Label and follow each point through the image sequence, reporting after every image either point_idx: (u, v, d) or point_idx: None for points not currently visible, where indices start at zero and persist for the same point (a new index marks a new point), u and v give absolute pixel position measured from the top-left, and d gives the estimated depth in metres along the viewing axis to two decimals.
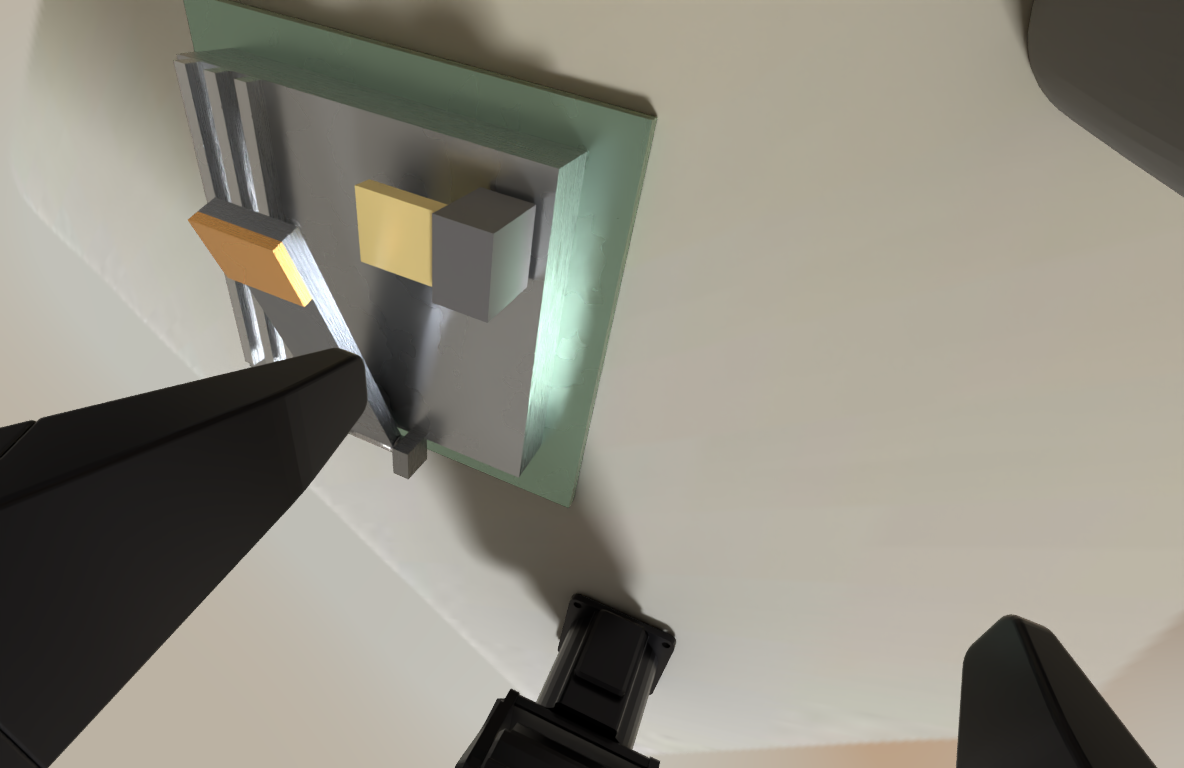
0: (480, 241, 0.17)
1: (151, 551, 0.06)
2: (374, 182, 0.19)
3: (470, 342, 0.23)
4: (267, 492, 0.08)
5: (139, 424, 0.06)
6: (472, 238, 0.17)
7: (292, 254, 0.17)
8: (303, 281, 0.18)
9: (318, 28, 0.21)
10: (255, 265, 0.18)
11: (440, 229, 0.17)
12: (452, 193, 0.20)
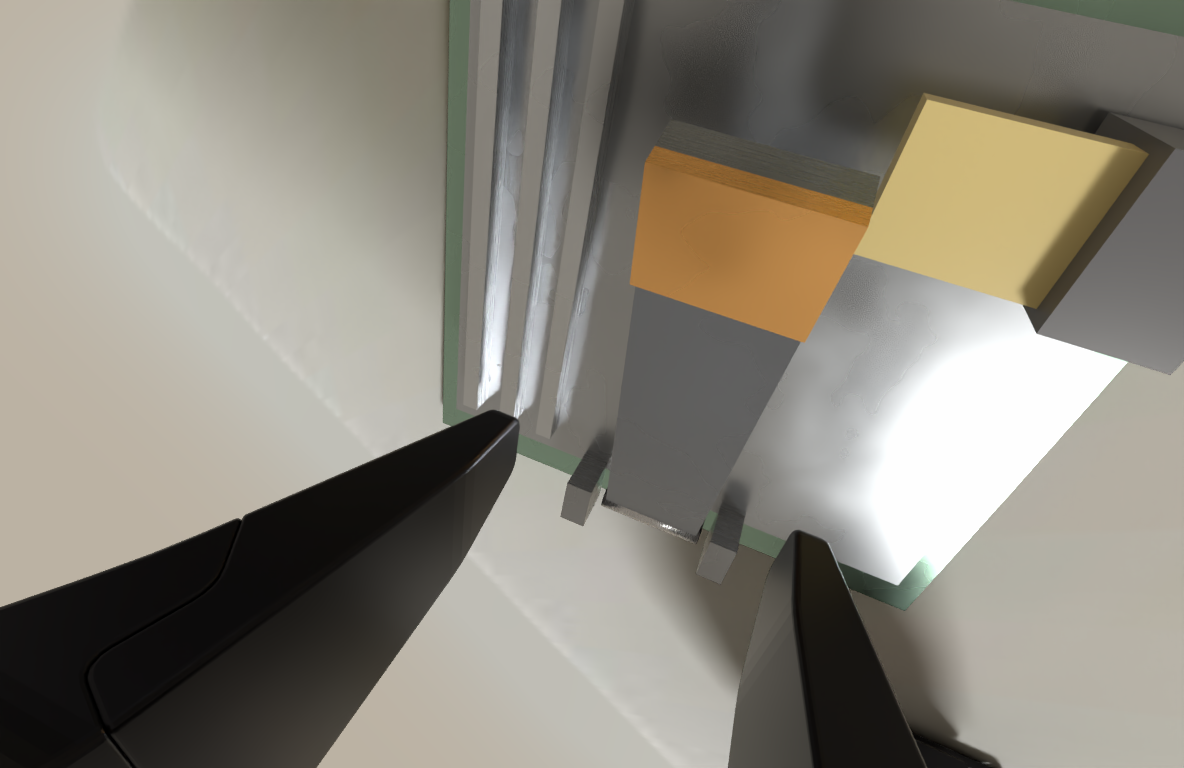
0: None
1: (345, 650, 0.06)
2: (940, 97, 0.09)
3: (908, 388, 0.14)
4: (436, 570, 0.07)
5: (343, 518, 0.06)
6: None
7: None
8: None
9: None
10: (755, 260, 0.09)
11: (1174, 184, 0.08)
12: None
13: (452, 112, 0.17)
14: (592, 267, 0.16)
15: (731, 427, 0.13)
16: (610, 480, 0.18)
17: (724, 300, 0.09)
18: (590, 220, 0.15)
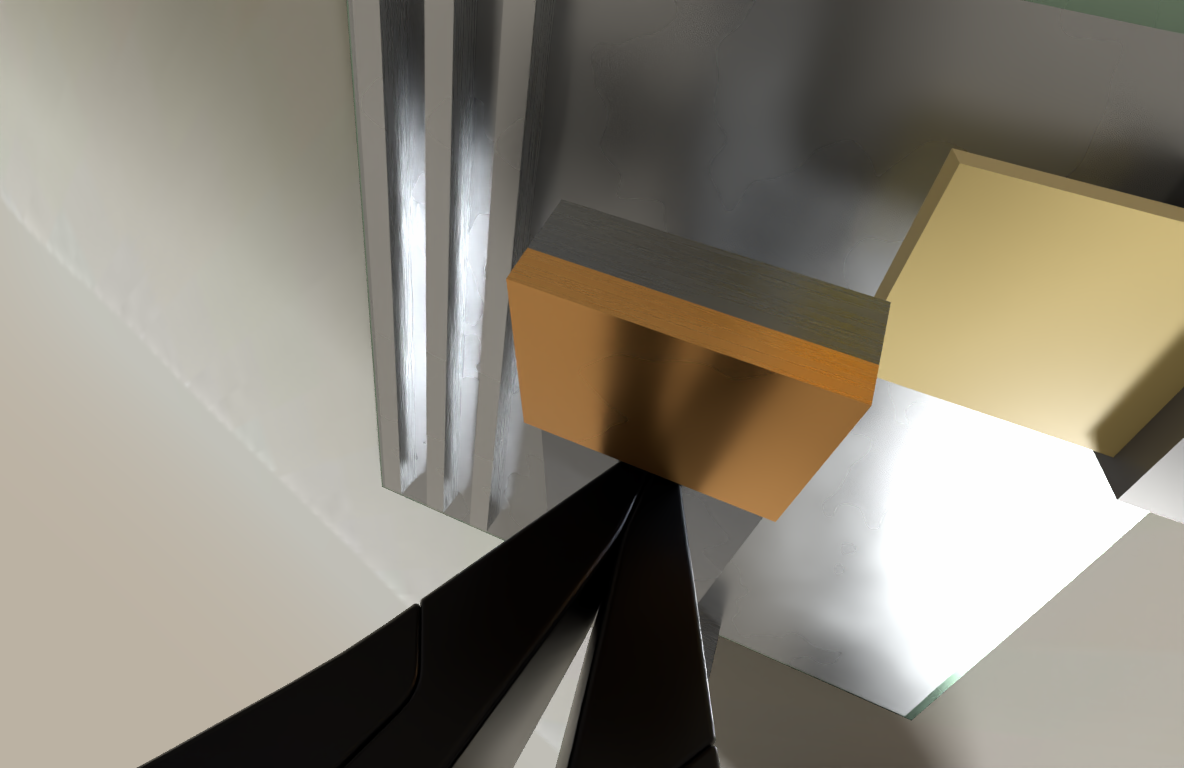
0: None
1: (512, 735, 0.06)
2: (978, 156, 0.06)
3: (920, 503, 0.11)
4: (579, 636, 0.07)
5: (520, 599, 0.05)
6: None
7: None
8: None
9: None
10: (693, 421, 0.05)
11: None
12: None
13: None
14: None
15: None
16: None
17: (655, 459, 0.06)
18: None
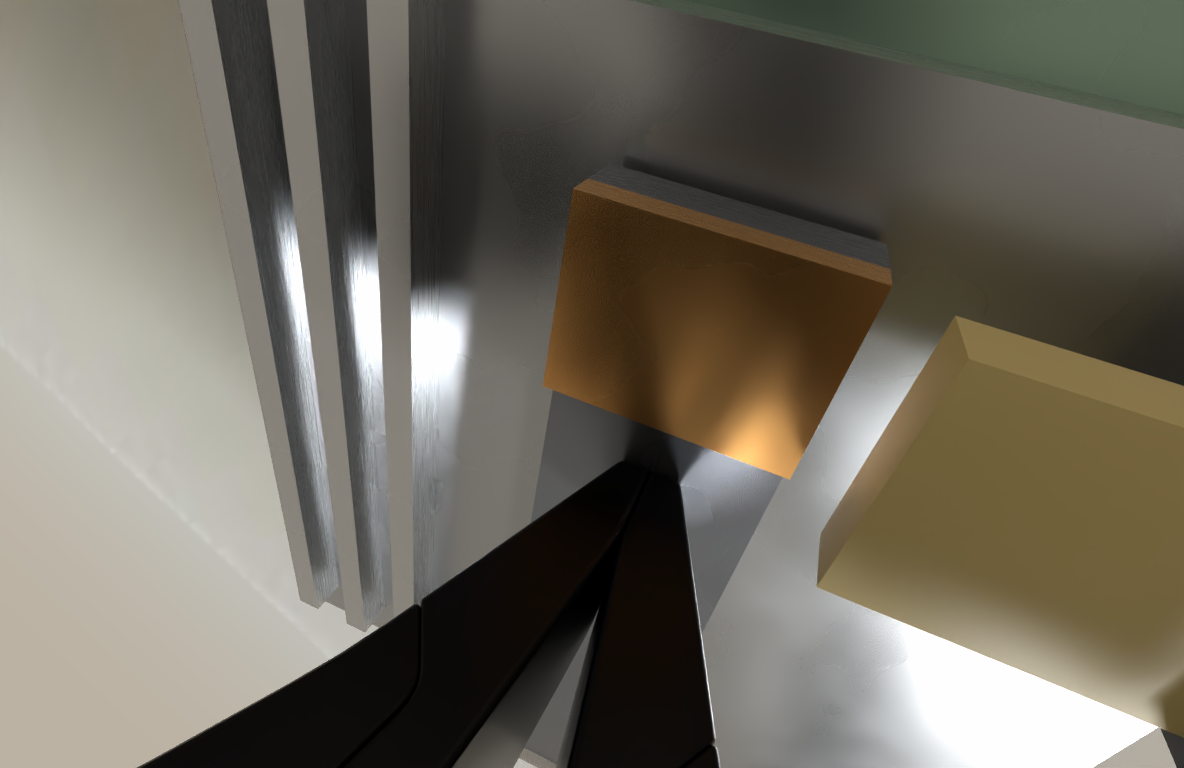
0: None
1: (512, 735, 0.06)
2: (993, 331, 0.04)
3: (916, 672, 0.09)
4: (579, 636, 0.07)
5: (520, 599, 0.05)
6: None
7: None
8: None
9: None
10: (724, 344, 0.06)
11: None
12: (1106, 337, 0.06)
13: None
14: (443, 455, 0.10)
15: None
16: None
17: (676, 410, 0.07)
18: (423, 402, 0.09)
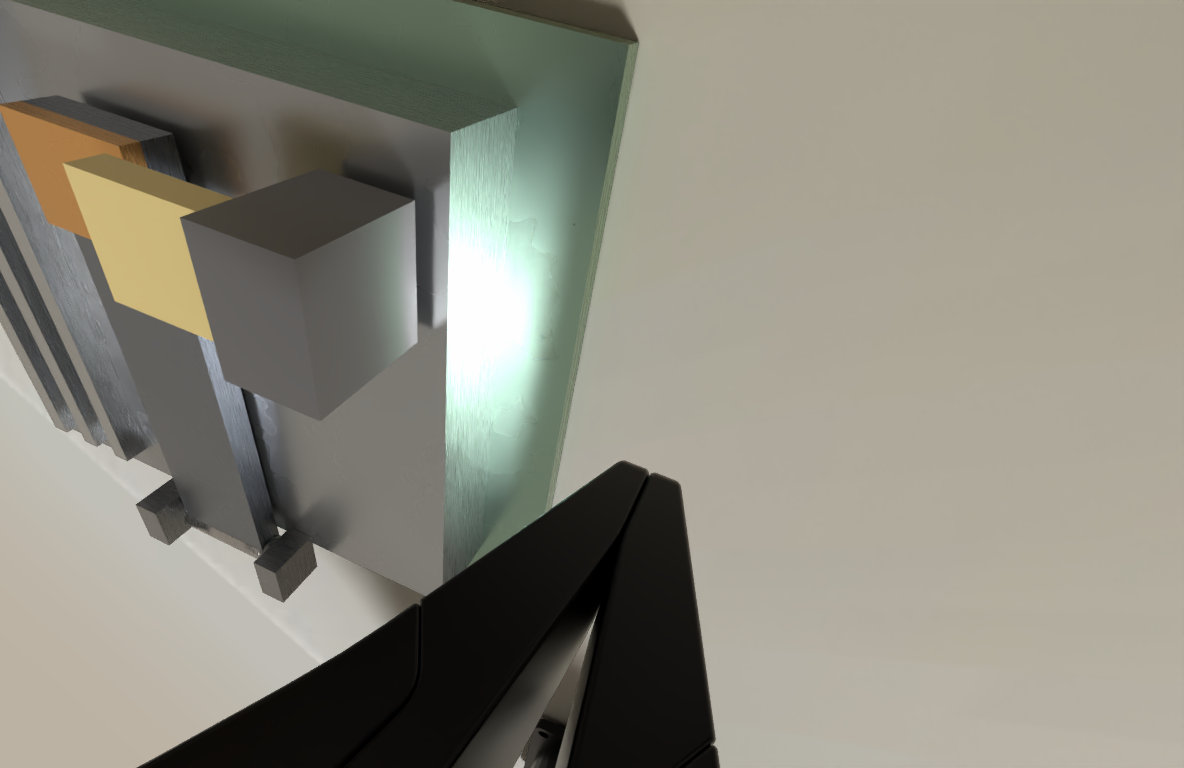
0: (275, 274, 0.08)
1: (512, 735, 0.06)
2: (112, 158, 0.10)
3: (349, 418, 0.15)
4: (578, 636, 0.07)
5: (520, 599, 0.05)
6: (260, 268, 0.08)
7: None
8: None
9: None
10: None
11: (202, 249, 0.09)
12: None
13: None
14: (90, 299, 0.16)
15: (201, 387, 0.15)
16: (176, 485, 0.18)
17: None
18: (51, 256, 0.15)
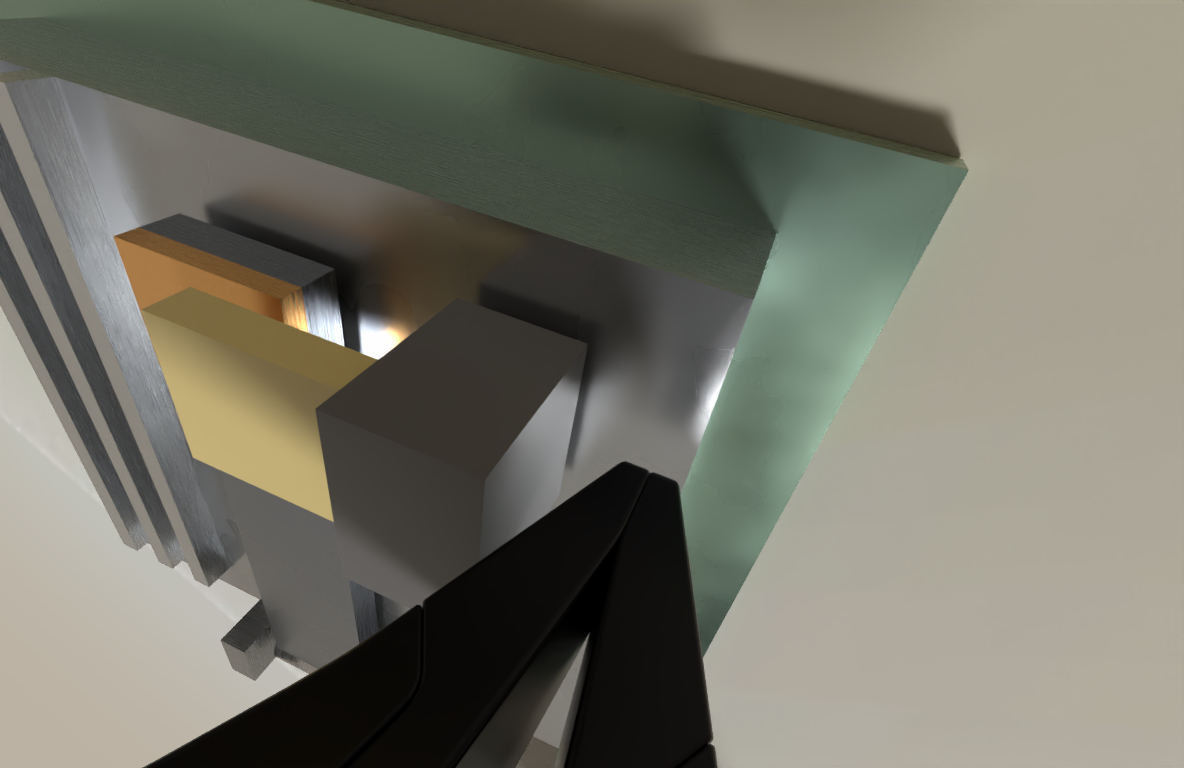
0: (448, 488, 0.06)
1: (514, 736, 0.06)
2: (199, 296, 0.08)
3: None
4: (580, 637, 0.07)
5: (522, 600, 0.05)
6: (427, 480, 0.06)
7: (312, 318, 0.09)
8: None
9: None
10: None
11: (341, 446, 0.06)
12: None
13: None
14: None
15: (326, 540, 0.12)
16: (270, 620, 0.16)
17: None
18: (143, 380, 0.13)
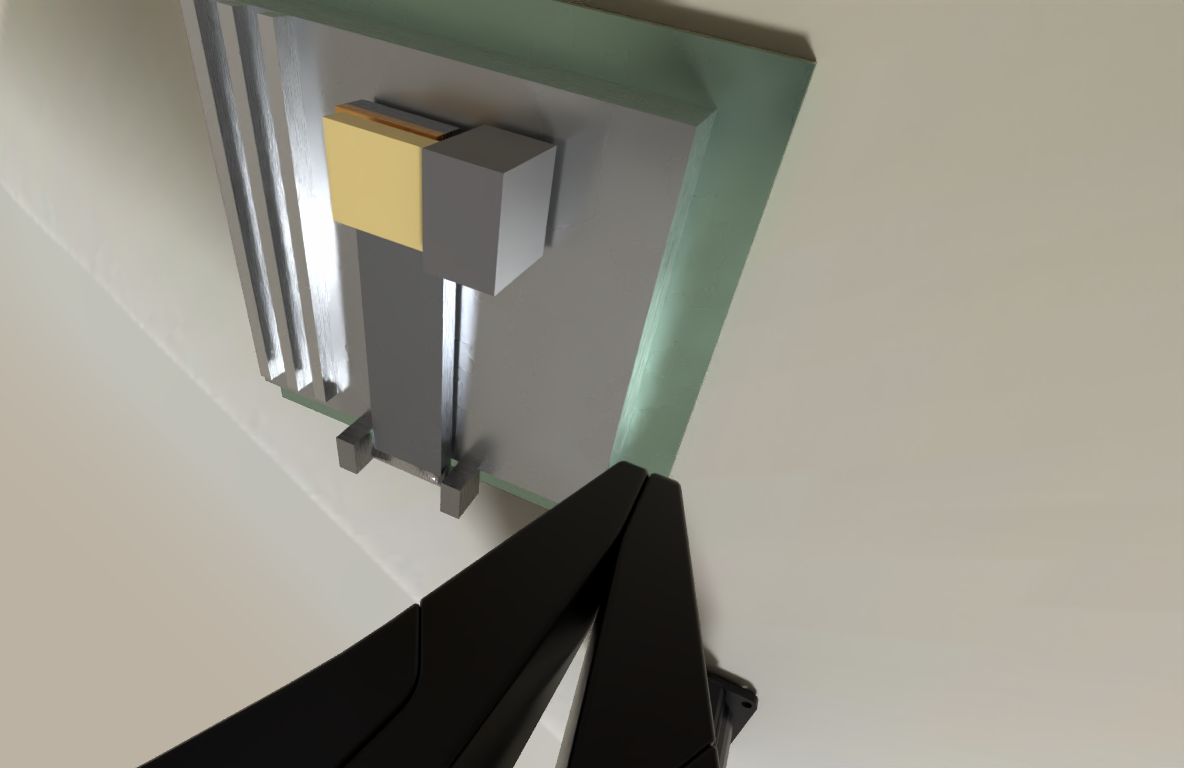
0: (485, 185, 0.13)
1: (512, 735, 0.06)
2: (348, 115, 0.14)
3: (548, 355, 0.19)
4: (578, 636, 0.07)
5: (520, 599, 0.05)
6: (475, 182, 0.13)
7: None
8: None
9: None
10: None
11: (432, 170, 0.13)
12: None
13: None
14: (326, 263, 0.20)
15: (431, 330, 0.19)
16: (373, 420, 0.22)
17: None
18: (309, 226, 0.19)
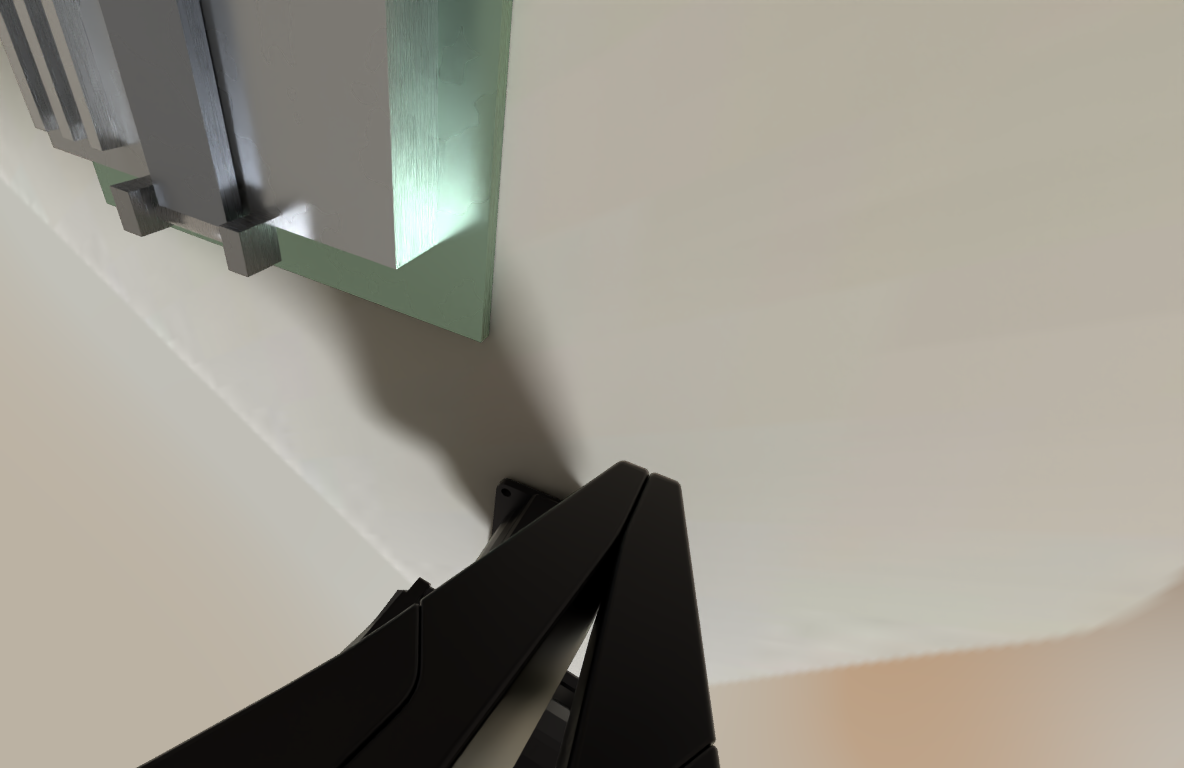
0: None
1: (512, 735, 0.06)
2: None
3: (300, 27, 0.16)
4: (579, 636, 0.07)
5: (520, 599, 0.05)
6: None
7: None
8: None
9: None
10: None
11: None
12: None
13: None
14: None
15: None
16: (147, 161, 0.20)
17: None
18: None
